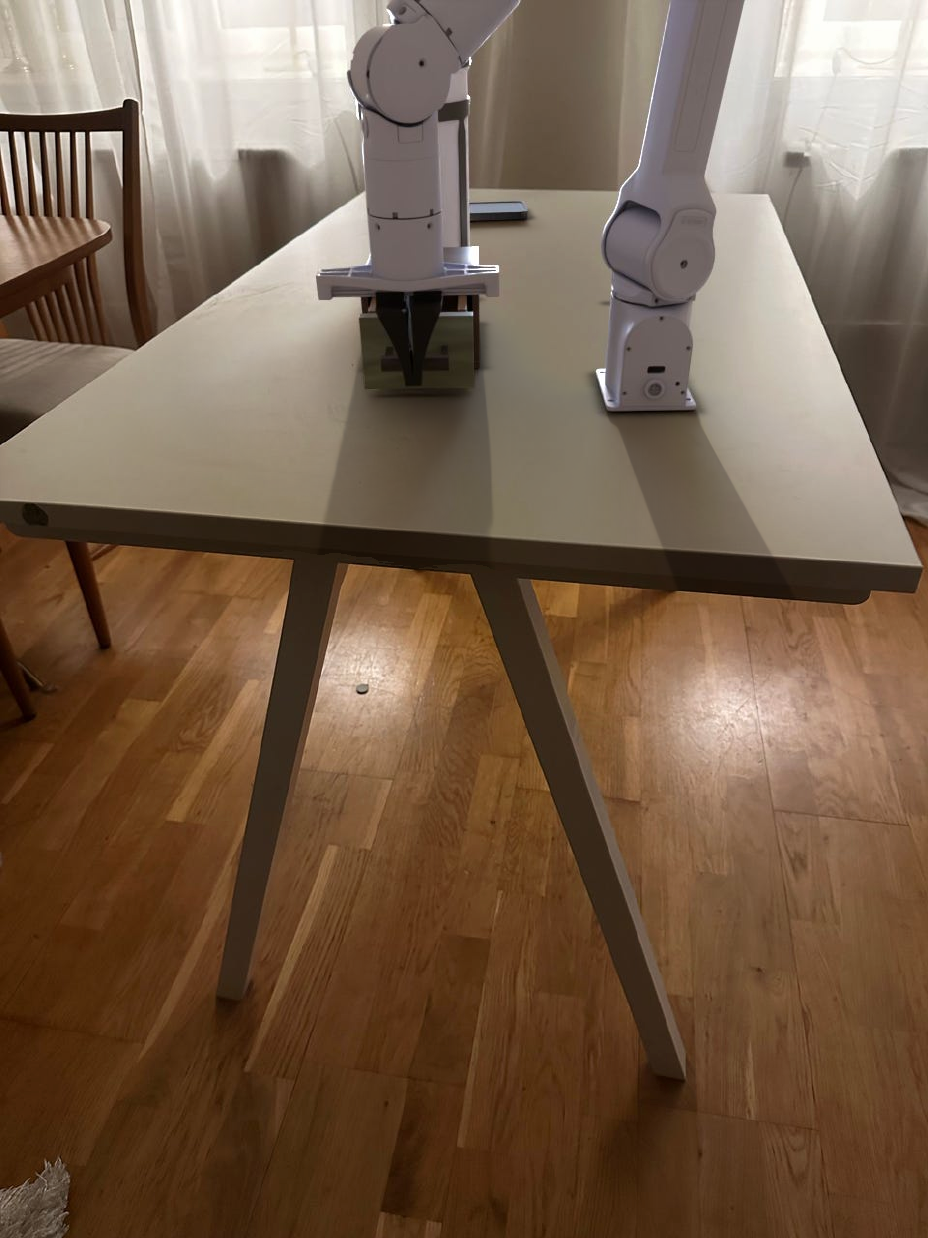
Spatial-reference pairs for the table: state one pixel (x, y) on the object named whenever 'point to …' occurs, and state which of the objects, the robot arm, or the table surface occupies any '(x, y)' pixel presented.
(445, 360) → the drawer
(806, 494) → the table surface
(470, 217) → the phone
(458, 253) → the cabinet
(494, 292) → the robot arm
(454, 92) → the coffee press
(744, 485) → the table surface
